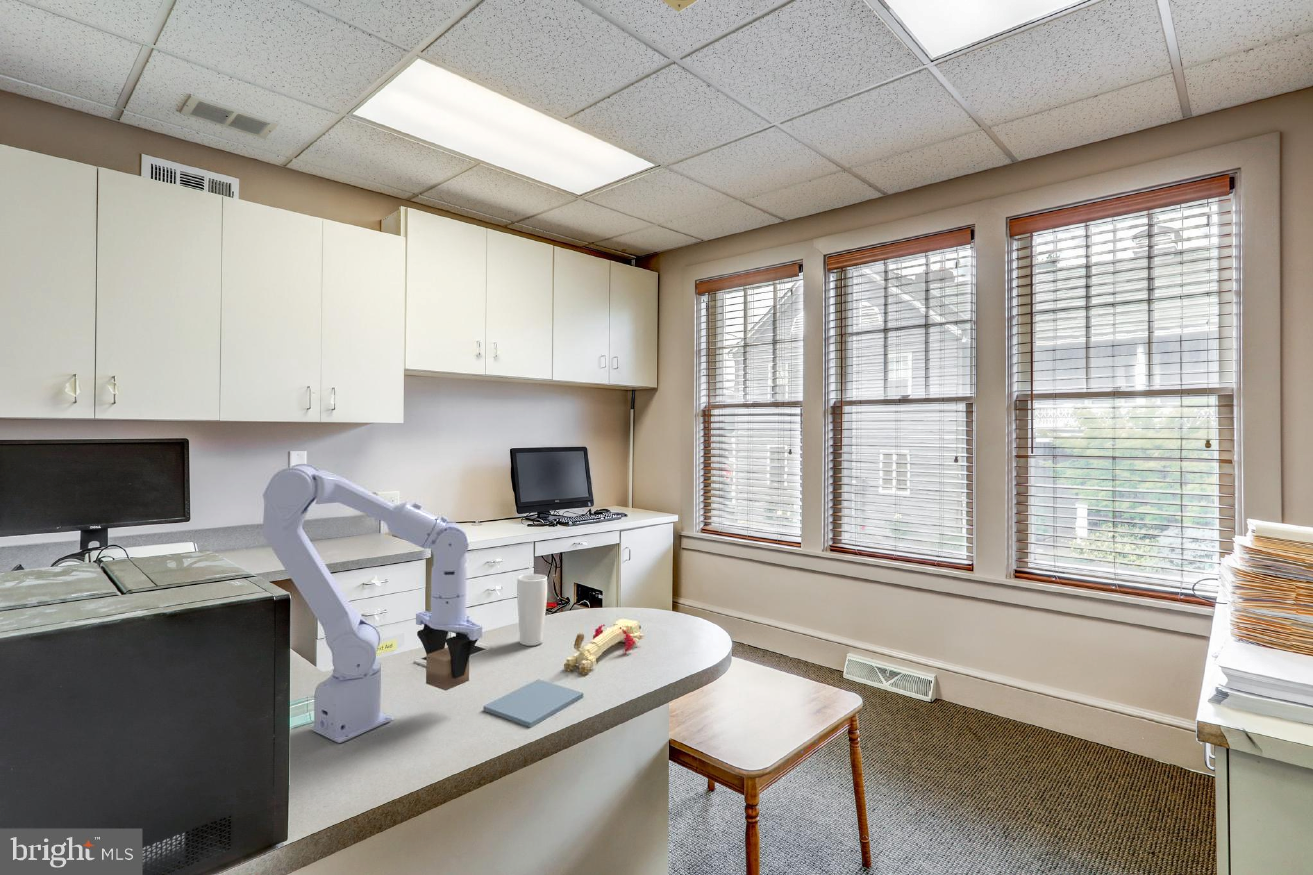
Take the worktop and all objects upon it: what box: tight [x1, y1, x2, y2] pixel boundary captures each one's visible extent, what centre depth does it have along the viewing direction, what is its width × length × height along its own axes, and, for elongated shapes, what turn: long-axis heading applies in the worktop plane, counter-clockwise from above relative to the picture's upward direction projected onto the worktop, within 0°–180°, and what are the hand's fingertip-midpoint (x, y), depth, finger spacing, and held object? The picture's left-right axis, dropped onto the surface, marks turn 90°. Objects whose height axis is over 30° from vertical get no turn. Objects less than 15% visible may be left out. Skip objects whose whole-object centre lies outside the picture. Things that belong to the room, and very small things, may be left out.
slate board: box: [482, 679, 584, 728], centre depth 114 cm, size 14×11×1 cm
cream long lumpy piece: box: [563, 618, 644, 676], centre depth 139 cm, size 10×9×25 cm
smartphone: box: [413, 641, 494, 668], centre depth 137 cm, size 7×16×1 cm, turn 146°
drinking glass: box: [516, 573, 548, 647], centre depth 145 cm, size 7×7×15 cm
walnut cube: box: [425, 646, 470, 692], centre depth 110 cm, size 5×5×5 cm
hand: (447, 672), depth 110 cm, fingers closed on walnut cube, 5 cm apart
